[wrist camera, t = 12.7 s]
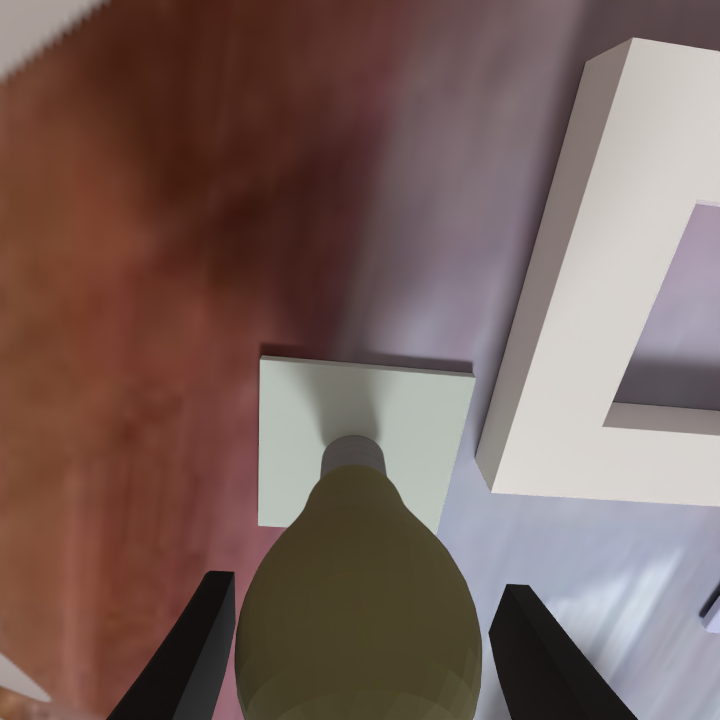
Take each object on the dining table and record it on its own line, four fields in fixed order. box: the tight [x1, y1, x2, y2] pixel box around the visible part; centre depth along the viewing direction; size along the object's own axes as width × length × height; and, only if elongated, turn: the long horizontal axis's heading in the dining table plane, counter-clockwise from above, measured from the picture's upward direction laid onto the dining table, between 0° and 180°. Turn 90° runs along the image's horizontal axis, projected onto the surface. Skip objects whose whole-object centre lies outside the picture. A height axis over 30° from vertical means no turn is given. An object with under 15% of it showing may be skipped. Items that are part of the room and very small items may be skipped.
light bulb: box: [235, 435, 482, 720], centre depth 11 cm, size 6×6×10 cm
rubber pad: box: [258, 355, 476, 535], centre depth 16 cm, size 8×8×1 cm
